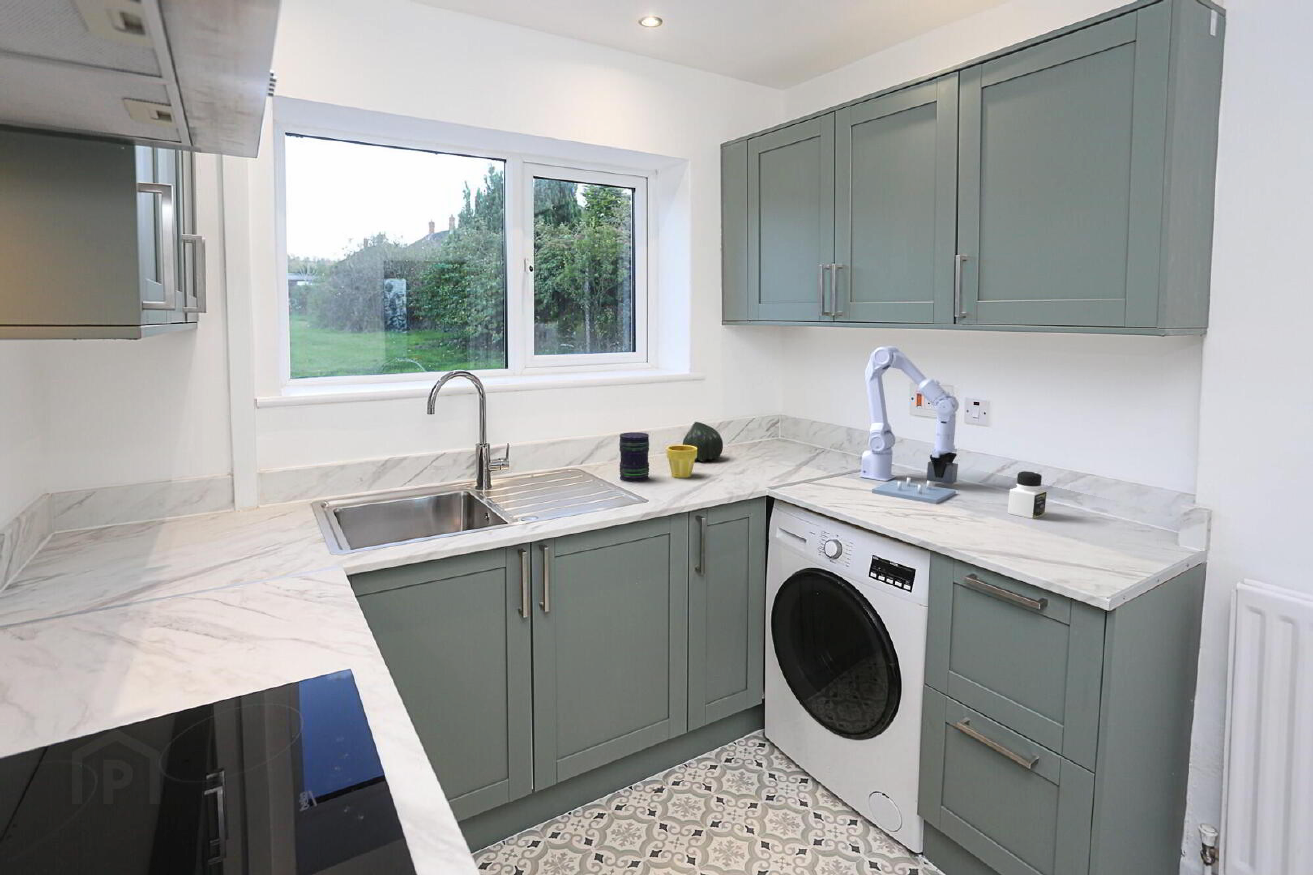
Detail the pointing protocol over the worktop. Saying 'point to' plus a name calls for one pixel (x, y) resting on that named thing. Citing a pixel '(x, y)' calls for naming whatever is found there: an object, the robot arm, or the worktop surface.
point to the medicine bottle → (1027, 496)
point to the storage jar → (634, 457)
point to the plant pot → (681, 460)
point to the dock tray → (914, 491)
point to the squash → (704, 441)
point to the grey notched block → (949, 473)
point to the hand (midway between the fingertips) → (941, 476)
